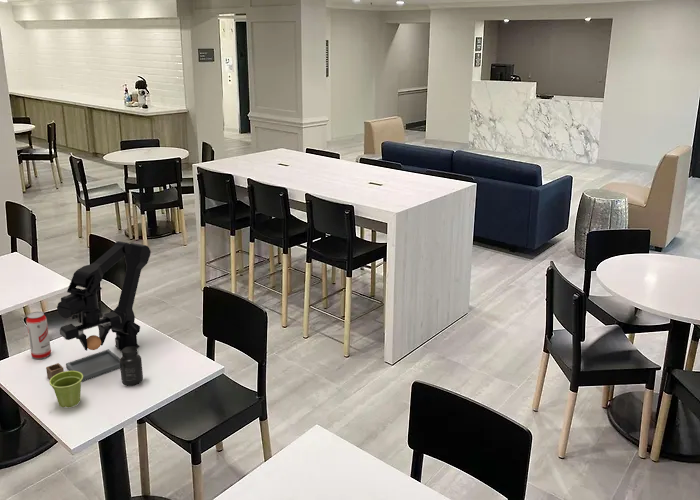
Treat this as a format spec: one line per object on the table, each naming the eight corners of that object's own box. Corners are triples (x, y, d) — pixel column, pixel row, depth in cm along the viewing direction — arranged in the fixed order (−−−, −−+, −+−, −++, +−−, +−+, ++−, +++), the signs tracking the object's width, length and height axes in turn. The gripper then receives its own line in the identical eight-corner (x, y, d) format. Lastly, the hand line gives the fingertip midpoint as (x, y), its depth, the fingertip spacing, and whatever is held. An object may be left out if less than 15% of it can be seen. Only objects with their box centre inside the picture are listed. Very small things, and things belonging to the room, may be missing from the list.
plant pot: (61, 415, 181) (58, 390, 178) (47, 402, 187) (43, 378, 184) (91, 402, 188) (88, 378, 185) (76, 390, 194) (73, 367, 191)
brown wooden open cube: (59, 373, 203) (58, 363, 202) (64, 378, 200) (63, 367, 199) (47, 377, 200) (46, 367, 199) (52, 382, 198) (50, 371, 196)
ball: (97, 344, 208) (96, 331, 207) (104, 349, 205) (103, 336, 204) (83, 348, 205) (81, 335, 203) (89, 354, 202) (88, 341, 200)
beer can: (55, 352, 216) (49, 311, 211) (44, 360, 210) (38, 319, 205) (38, 350, 216) (32, 310, 211) (27, 359, 211) (21, 317, 205)
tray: (108, 353, 217) (108, 349, 216) (124, 366, 209) (124, 362, 208) (66, 368, 206) (65, 363, 206) (81, 382, 198) (80, 377, 198)
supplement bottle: (147, 378, 202) (145, 346, 198) (134, 388, 196) (131, 356, 192) (130, 374, 204) (127, 342, 200) (117, 384, 198) (113, 352, 194)
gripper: (105, 291, 211) (109, 330, 217) (50, 306, 199) (56, 347, 204) (120, 301, 204) (124, 342, 209) (64, 317, 191) (69, 360, 197)
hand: (93, 347), depth 205 cm, fingers closed on ball, 5 cm apart
